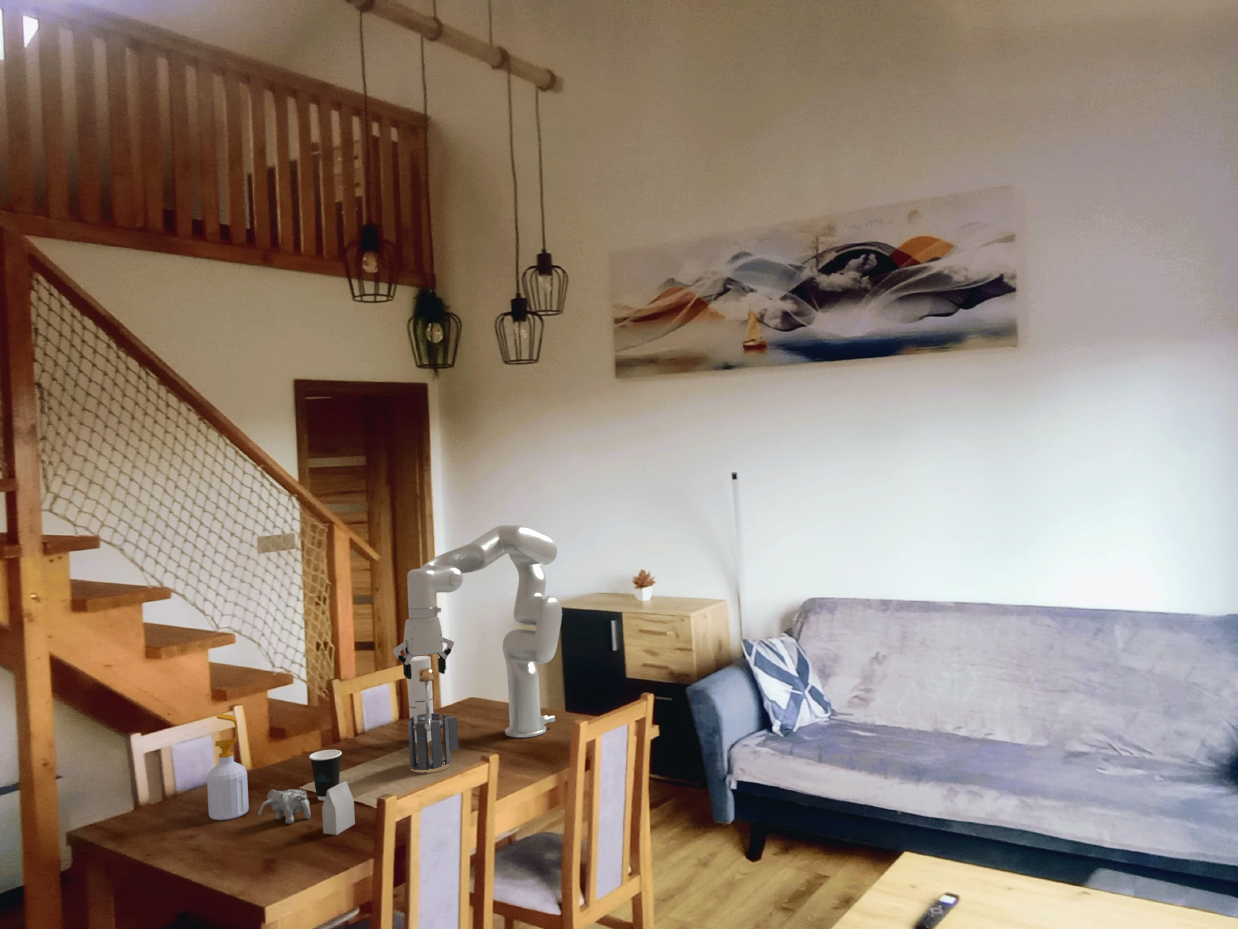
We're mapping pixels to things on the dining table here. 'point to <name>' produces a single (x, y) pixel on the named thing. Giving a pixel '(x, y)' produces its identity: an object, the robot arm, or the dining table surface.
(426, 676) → the plunger
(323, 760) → the dixie cup
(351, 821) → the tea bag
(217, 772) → the soap bottle
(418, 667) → the cylindrical container
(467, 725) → the dining table surface
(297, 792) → the gray elephant figurine
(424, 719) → the frame
